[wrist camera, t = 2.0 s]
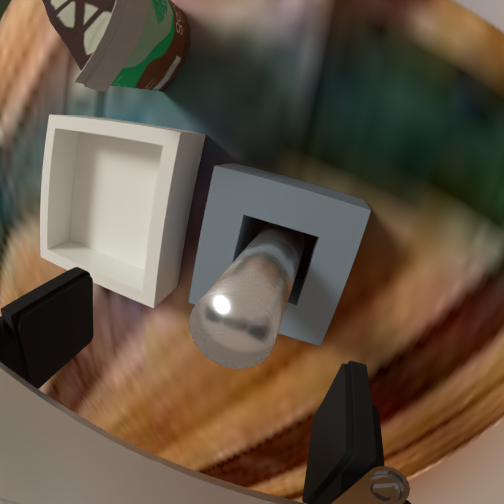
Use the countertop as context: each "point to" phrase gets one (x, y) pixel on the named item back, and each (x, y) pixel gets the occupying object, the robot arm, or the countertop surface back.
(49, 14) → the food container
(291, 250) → the steel pin
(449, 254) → the countertop surface
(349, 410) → the robot arm
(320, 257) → the block
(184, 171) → the parts tray
